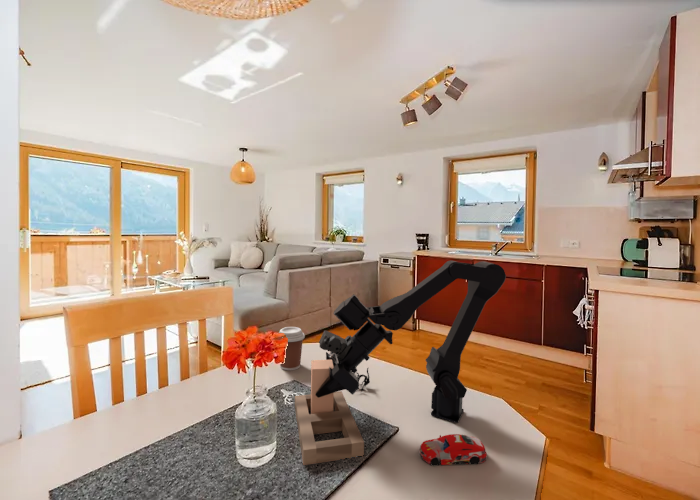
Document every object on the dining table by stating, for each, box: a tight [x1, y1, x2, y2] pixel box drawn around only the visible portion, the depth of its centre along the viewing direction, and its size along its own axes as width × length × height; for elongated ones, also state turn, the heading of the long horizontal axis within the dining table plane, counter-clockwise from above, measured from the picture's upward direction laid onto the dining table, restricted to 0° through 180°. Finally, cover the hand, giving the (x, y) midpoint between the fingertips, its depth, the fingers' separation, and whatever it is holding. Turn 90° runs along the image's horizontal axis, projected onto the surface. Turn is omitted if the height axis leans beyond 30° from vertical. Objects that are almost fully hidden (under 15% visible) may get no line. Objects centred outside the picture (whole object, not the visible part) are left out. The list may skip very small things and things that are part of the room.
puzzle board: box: [294, 390, 365, 466], centre depth 76 cm, size 21×12×3 cm, turn 14°
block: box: [310, 359, 334, 414], centre depth 80 cm, size 5×5×13 cm
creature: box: [355, 367, 371, 391], centre depth 96 cm, size 8×5×8 cm
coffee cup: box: [278, 326, 306, 371], centre depth 109 cm, size 9×9×12 cm
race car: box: [419, 433, 488, 467], centre depth 67 cm, size 13×5×4 cm, turn 93°
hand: (316, 390), depth 80 cm, fingers closed on block, 5 cm apart
